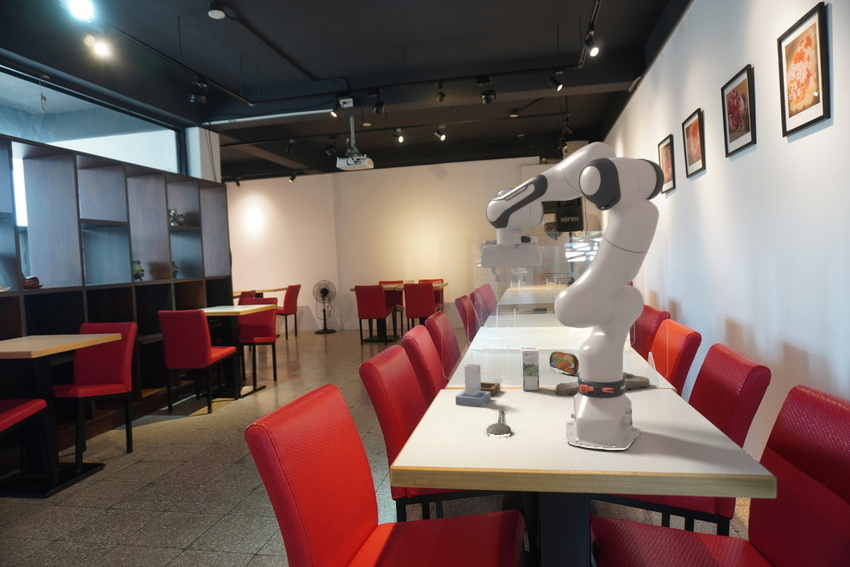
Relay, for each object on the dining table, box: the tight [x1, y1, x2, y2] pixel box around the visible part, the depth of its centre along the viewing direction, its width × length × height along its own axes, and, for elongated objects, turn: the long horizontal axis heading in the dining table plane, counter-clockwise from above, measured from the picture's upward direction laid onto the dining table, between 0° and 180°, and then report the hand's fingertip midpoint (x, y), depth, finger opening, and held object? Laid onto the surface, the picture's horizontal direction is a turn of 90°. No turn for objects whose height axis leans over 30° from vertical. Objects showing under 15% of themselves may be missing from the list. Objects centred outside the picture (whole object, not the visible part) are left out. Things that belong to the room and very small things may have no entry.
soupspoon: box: [486, 408, 512, 435], centre depth 147 cm, size 22×3×7 cm
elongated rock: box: [555, 371, 651, 396], centre depth 180 cm, size 35×5×10 cm
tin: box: [549, 351, 579, 376], centre depth 207 cm, size 15×3×8 cm, turn 25°
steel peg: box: [464, 363, 482, 398], centre depth 171 cm, size 4×4×12 cm
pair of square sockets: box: [455, 381, 501, 407], centre depth 176 cm, size 21×9×2 cm, turn 155°
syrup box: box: [520, 347, 540, 392], centre depth 184 cm, size 6×6×14 cm
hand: (511, 281), depth 171 cm, fingers open, 8 cm apart
